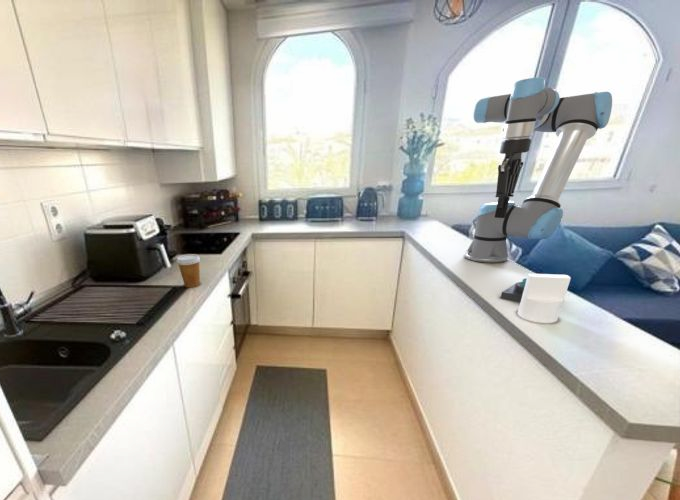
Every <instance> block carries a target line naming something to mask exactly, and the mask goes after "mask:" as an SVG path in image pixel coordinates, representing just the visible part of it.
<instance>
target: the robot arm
mask: <svg viewBox="0 0 680 500" xmlns="http://www.w3.org/2000/svg"><path fill="white" fill-rule="evenodd" d="M545 83H546V78H545V77H543V76H541V77H540V76H538V77H537V76H536V77H529V78H523V79H520V80H518V81H516V82H515V83H514V84H513V86H512V88H511V89H512V90H511V93H508V94H502V95H495V96H488V97H484V98H481V99H479V100H478V101H477V102H476V103H475V106H474V108H473V116H472V117H473V120H474V122H475V123H476V124H487V123H499V124H504V128H502V132H503V134H502V139H504V140H502V141H501V143H500V149H499V154H501V155H502V154H504V157H503V160H502V163H501V164H499V165H498V167H497V172H498V173H497V182H496V191H495V198H498V199H497V201H495V202H494V201H493V202H488V203H484V204H482V205H480V206H479V209H478V213H477V215H476V217H477V218H476V224H475V228H474V234H473V239H472V241H471V243H470V244H469V246H468V248H467V250H466V251H465V258H466V259H467V260H469V261H472V262H478V263H486V264H489V263H490V264H494V263H495V264H496V263H503V262H507V261H508V256H509V252H508V246H507V238H508V237H512V238H513V237H515V238H521V239H529V240H546V239H548V238H549V237H551V236H552V235H553V234H554V233H555V232H556V230H557V229H558V227H559V226H560V223H561V222H562V219H563V216H564V210H563V209H562V208H561V206H562V203H560V201H559V200H560V197H561V195H562V193H563V192H564V189H565V187H566V185H567V183H568V181H569V178H570V176H571V174H572V172H573V170H574V168H575V166H576V163H577V162H578V159H579V158H580V155H581V153H582V152H583V149H584V147H585V145H586V143H587V140H590V139H592V138H593V137H594V136H595V135H596V134H597V132H598V130H602V129H604V128H606V126H607V125H608V124H609V121H610V119H611V114H612V109H613V95H612V93H611V92H609V91H600V92H597V91H595V92H592V93H586V94H578V95H572V96H565V97H564V96H563V97H560V94H559V92H558V91H557V90H556V89H554V88H552V87H546V86H545ZM534 132H541V133H555V135H556V137H557V139H556V141H555V143H554V146H553V147H552V150H551V152H550V154H549V157H548V158H547V160H546V163H545V165H544V168H543V169H542V171H541V173H540V176H539V178H538V180H537V182H536V184H535V186H534V188H533V191H532V192H531V195H530V196H529V197H526V198H524V199H523V202H522V204H521V205H516V203H515V201H514V200H510V199H511V197H513V198H514V196H515V194H514V193H515V190H516V186H517V183H518V180H519V177H520V173H521V171H522V169H523V166H524V161H522V155H523V153H528V152H529V151H530V148H531V144H532V139H531V137H533V136H534Z"/></svg>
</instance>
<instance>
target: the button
mask: <svg viewBox="0 0 680 500" xmlns="http://www.w3.org/2000/svg"><path fill="white" fill-rule="evenodd" d="M526 280H527V277H526V278H523V279H522V281H521V282H522V285H521V286H523V287H525V284H526Z"/></svg>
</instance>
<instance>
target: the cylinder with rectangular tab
mask: <svg viewBox="0 0 680 500" xmlns="http://www.w3.org/2000/svg"><path fill="white" fill-rule="evenodd" d="M526 276H527V277H526V278H527V280H526V284H525V287H524V291H523V295H522V299H521V302H520V303H519V306H518V310H517V315H518V316H519V317H520V318H522V319H524V320H527V321H530V322H534V323H540V324H551V323H552V324H553V323H556V322H557V321H558V320H559V316H560V313H561V310H562V307H563V304H564V301H565V297H566V294H567V291H568V288H569V285H570V282H571V279H572V277H571V276H570V275H568V274H559V273H557V274H556V273H555V274H553V273H527V275H526Z"/></svg>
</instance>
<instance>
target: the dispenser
mask: <svg viewBox="0 0 680 500" xmlns="http://www.w3.org/2000/svg"><path fill="white" fill-rule="evenodd" d="M521 285H522V281H518V282H515V283H514V284H513V285H510V286H509V287H507V288H506V289H504V290H503V291H501V294H500V299H502V300H507V301H512V302H515V303H519V304H520V302H521V299H522V295H523V291H524V287H523V286H521Z"/></svg>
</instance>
